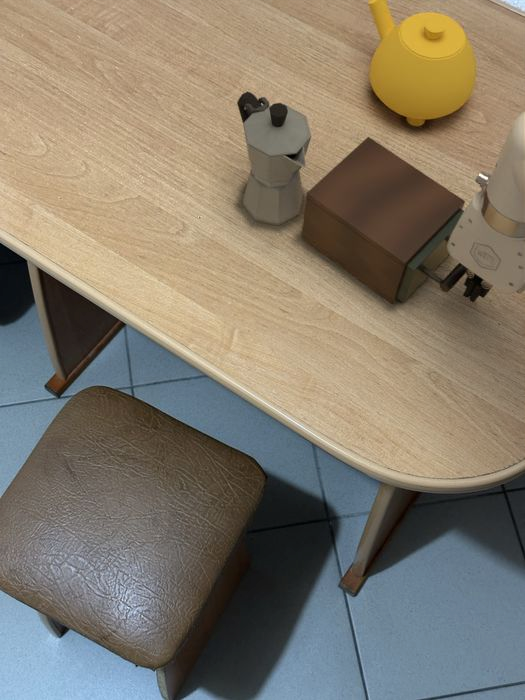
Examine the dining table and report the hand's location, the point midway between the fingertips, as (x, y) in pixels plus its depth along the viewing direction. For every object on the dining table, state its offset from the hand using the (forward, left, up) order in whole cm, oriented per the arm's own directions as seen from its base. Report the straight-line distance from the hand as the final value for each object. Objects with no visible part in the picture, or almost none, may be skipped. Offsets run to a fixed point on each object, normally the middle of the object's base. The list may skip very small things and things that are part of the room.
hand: (474, 292), depth 108 cm
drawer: (+12, 0, -3) cm, 12 cm away
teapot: (+30, -26, -4) cm, 40 cm away
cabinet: (+16, 0, -4) cm, 16 cm away
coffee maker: (+32, +4, -4) cm, 32 cm away
